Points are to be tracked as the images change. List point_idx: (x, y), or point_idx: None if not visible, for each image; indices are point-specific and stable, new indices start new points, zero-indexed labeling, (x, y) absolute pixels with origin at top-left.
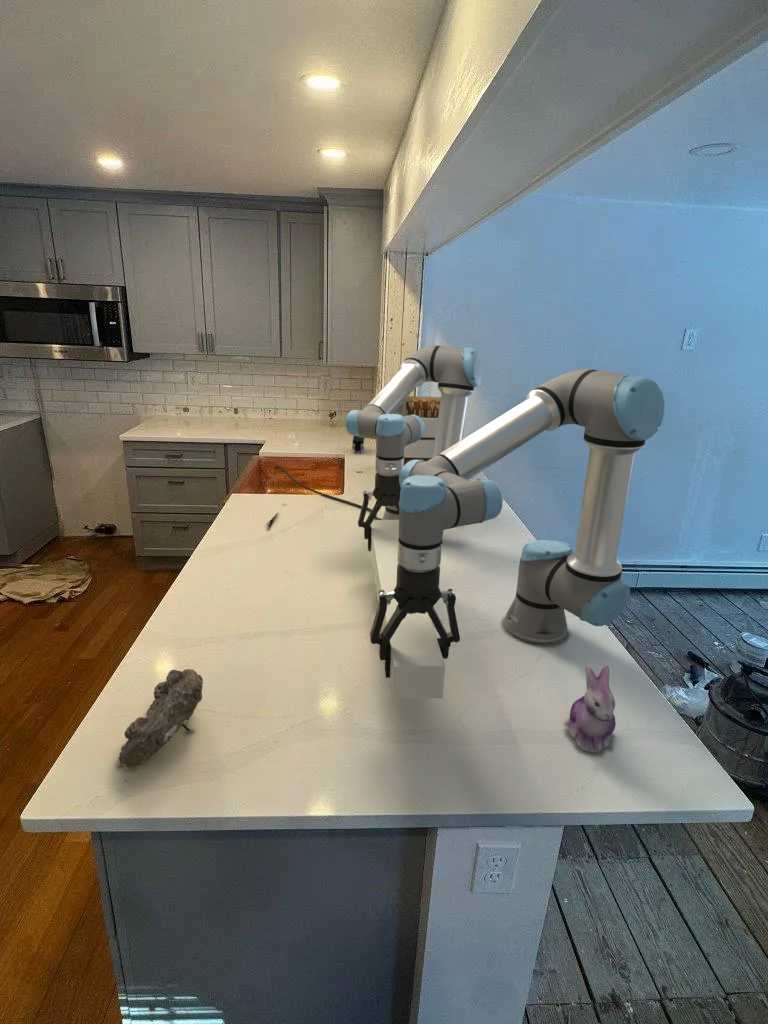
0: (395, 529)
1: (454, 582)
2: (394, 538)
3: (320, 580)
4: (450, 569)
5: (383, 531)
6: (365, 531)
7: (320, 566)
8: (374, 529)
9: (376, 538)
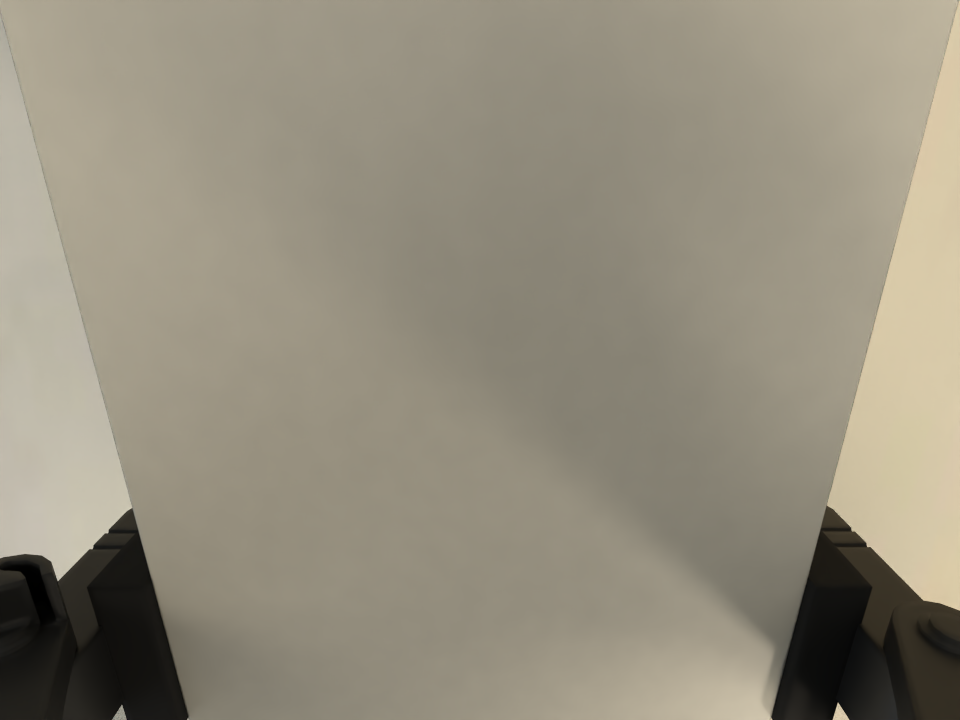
0: (316, 610)
1: (7, 324)
2: (342, 99)
3: (909, 352)
4: (51, 495)
5: (572, 525)
6: (885, 582)
7: (862, 530)
8: (736, 613)
9: (835, 101)
